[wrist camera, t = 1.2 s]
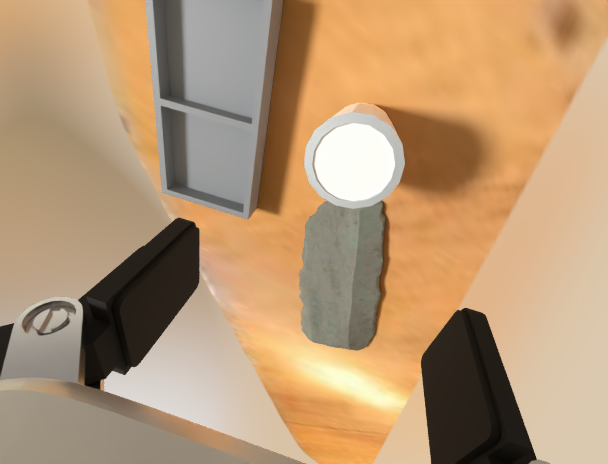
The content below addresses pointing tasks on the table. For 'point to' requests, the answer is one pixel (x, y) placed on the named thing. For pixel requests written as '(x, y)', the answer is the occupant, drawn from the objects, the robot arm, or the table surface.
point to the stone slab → (342, 275)
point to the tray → (213, 96)
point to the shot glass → (355, 157)
